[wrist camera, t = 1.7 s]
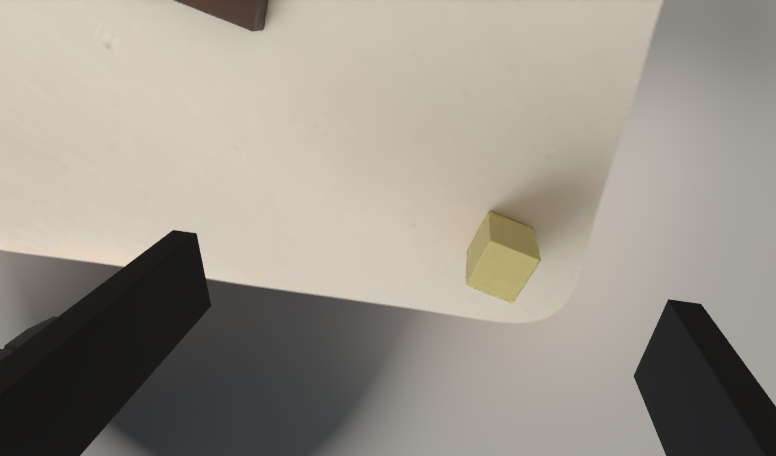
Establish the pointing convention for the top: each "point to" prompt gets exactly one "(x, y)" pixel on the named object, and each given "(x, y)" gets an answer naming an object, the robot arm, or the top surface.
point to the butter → (501, 257)
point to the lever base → (233, 11)
